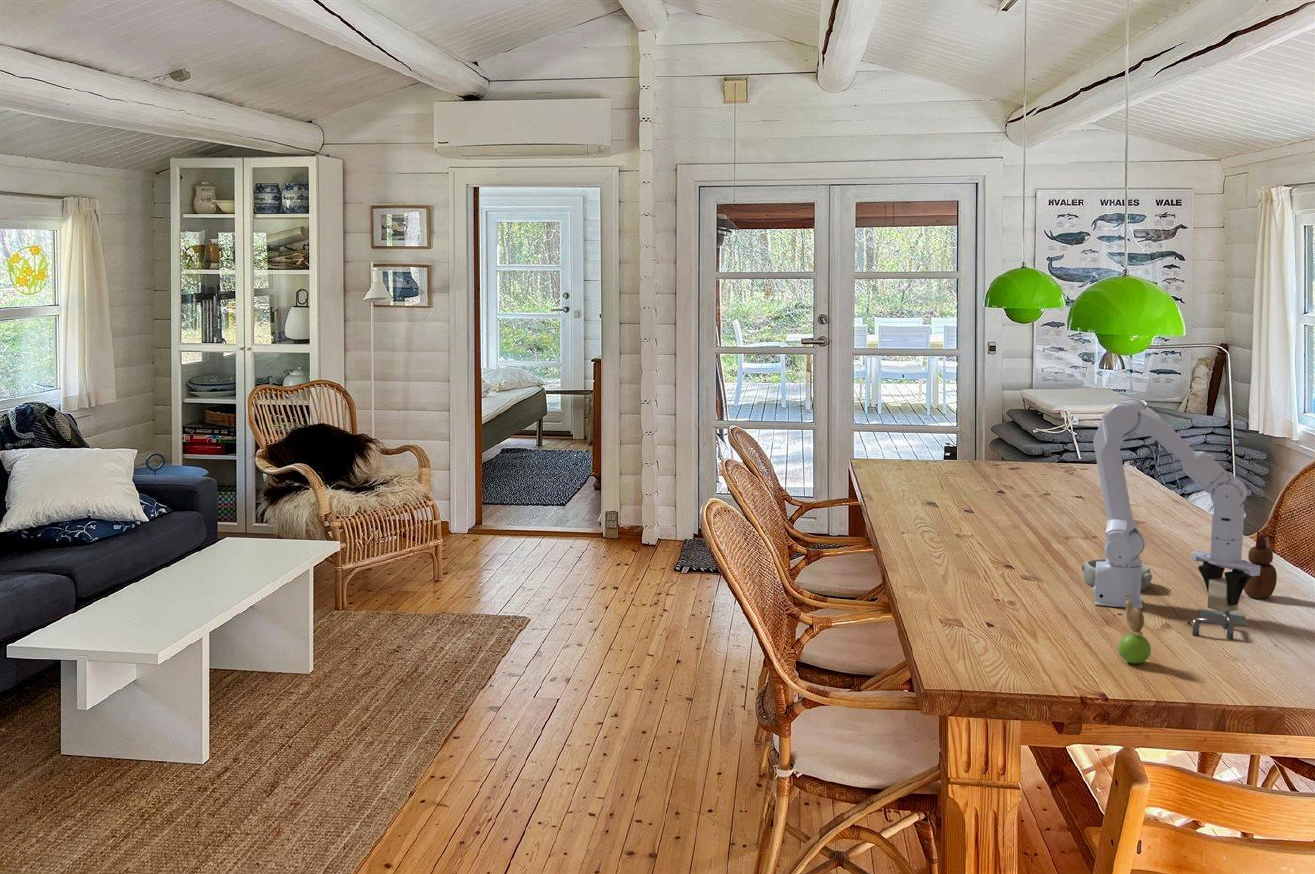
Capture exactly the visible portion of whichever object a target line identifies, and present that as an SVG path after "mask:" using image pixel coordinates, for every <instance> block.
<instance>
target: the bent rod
mask: <svg viewBox="0 0 1315 874" xmlns="http://www.w3.org/2000/svg"><path fill="white" fill-rule="evenodd" d="M1201 624H1204V625H1217V626H1222V629H1225V630H1226V636H1225V638H1226V639H1227V640H1233V639H1234V630H1235V625H1234V622H1233V621H1232V618H1231V616H1230V613H1229V612H1228V611H1225V612H1224V613H1223V620H1217V619H1205V618H1201V617H1195V619H1193V620H1192V633H1191V634H1192V636H1194V637H1199V636H1200V625H1201Z"/></svg>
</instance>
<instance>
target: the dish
mask: <svg viewBox="0 0 1315 874" xmlns="http://www.w3.org/2000/svg"><path fill="white" fill-rule="evenodd" d="M1097 561H1100V562H1103V561H1106V558H1096V559H1095V558H1094V559H1090V560H1089V559H1088V560H1087V561H1084V562H1083V563H1082V565H1081V569H1082V571H1083V578H1084V582H1085V583H1086V584H1087V585H1089V586H1092V587H1094V586H1095V578H1096V562H1097ZM1152 580H1153V574H1151V568H1150V566H1149V565H1146V564H1144V563H1142V573H1141V591H1144V590H1146V589H1147V588H1148V587H1149V585H1150V583H1151V581H1152Z"/></svg>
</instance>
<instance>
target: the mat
mask: <svg viewBox="0 0 1315 874" xmlns="http://www.w3.org/2000/svg"><path fill="white" fill-rule="evenodd" d="M1198 612H1199V615H1200V618H1205V619H1217V620H1223V612H1220V611H1217V610H1213V609H1201V608H1198ZM1229 613H1230V616H1231V618H1232V621H1233V622H1234V626H1235V625H1236V626H1246V627H1247V622H1246V619H1245V617H1244V615H1243V613H1242V612H1237V611H1231V612H1229Z"/></svg>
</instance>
